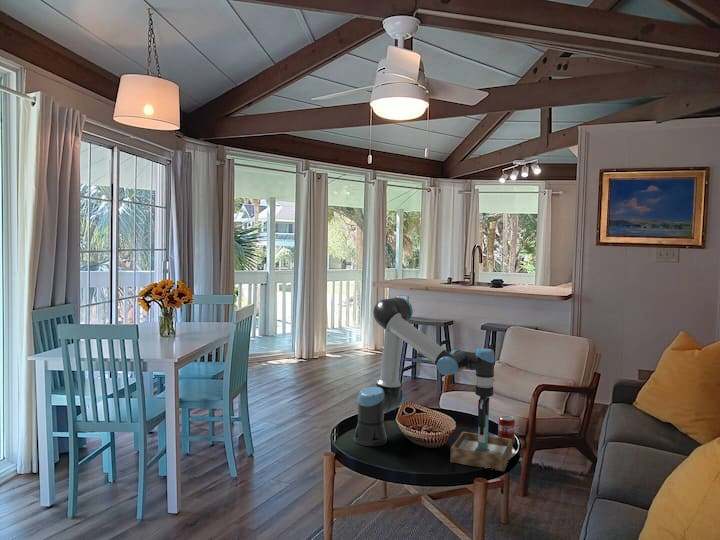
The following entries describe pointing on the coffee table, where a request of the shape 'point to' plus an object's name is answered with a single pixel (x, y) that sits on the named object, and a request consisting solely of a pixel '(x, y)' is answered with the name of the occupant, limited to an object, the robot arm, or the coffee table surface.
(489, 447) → the wooden box with hole
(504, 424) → the soda can
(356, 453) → the coffee table surface
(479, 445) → the teal peg
